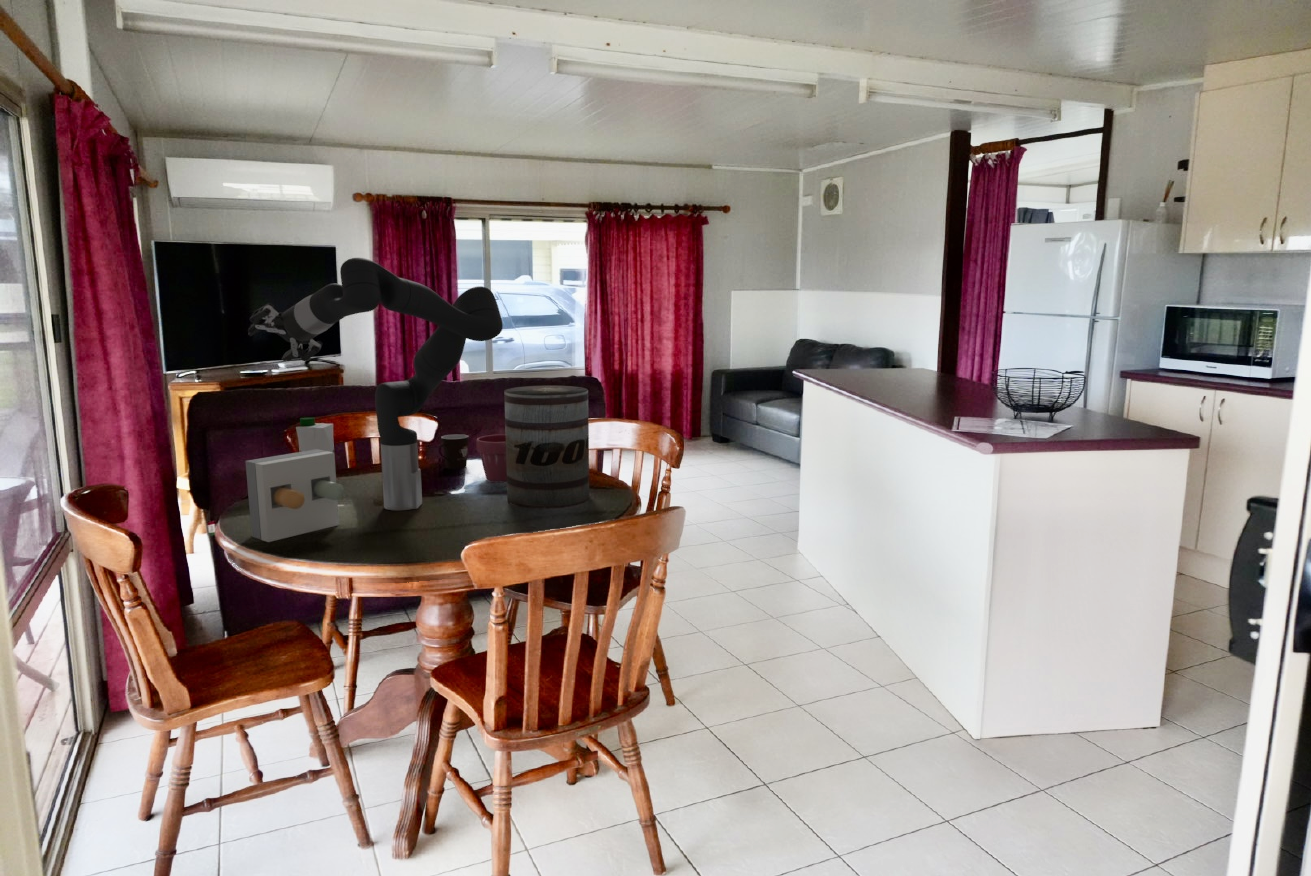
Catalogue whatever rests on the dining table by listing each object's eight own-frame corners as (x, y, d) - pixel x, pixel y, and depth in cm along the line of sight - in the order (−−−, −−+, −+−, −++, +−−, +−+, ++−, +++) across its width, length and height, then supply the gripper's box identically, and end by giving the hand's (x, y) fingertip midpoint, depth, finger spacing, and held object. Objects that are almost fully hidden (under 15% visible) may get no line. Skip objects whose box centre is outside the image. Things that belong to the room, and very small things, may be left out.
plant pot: (470, 477, 260) (469, 436, 258) (513, 472, 267) (512, 432, 265) (488, 486, 248) (487, 443, 246) (532, 480, 256) (531, 439, 253)
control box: (338, 524, 208) (334, 452, 205) (268, 542, 194) (262, 464, 191) (322, 519, 212) (317, 449, 209) (251, 536, 198) (245, 460, 195)
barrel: (546, 513, 219) (543, 397, 214) (490, 499, 234) (486, 390, 228) (606, 497, 236) (605, 389, 231) (550, 484, 251) (548, 383, 245)
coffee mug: (462, 463, 280) (461, 433, 279) (474, 467, 274) (473, 437, 272) (429, 467, 273) (427, 437, 271) (441, 472, 267) (439, 441, 265)
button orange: (305, 507, 193) (303, 489, 193) (288, 510, 190) (287, 493, 189) (290, 503, 197) (289, 486, 196) (274, 506, 194) (273, 489, 193)
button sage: (344, 498, 201) (343, 482, 200) (329, 501, 198) (327, 485, 197) (329, 494, 205) (328, 478, 204) (314, 497, 202) (313, 481, 201)
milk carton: (310, 482, 253) (305, 415, 249) (340, 482, 252) (336, 416, 249) (297, 489, 244) (292, 420, 241) (328, 489, 244) (324, 420, 240)
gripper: (345, 326, 183) (301, 353, 191) (290, 281, 174) (246, 311, 183) (332, 350, 178) (288, 377, 186) (275, 306, 170) (231, 335, 178)
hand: (267, 344), depth 185 cm, fingers open, 8 cm apart
